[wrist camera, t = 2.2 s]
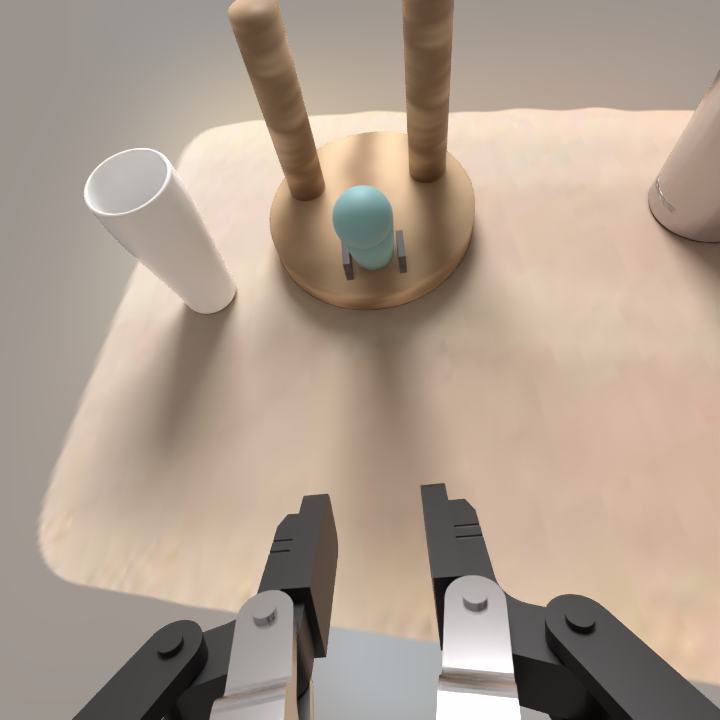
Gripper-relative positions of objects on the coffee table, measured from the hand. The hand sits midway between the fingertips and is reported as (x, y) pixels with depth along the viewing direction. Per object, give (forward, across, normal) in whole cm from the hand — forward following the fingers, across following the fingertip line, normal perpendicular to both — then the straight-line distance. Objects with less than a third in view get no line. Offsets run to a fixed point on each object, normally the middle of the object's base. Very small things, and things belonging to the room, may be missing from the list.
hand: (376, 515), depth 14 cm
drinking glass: (+34, +17, -2) cm, 38 cm away
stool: (+38, 0, -6) cm, 39 cm away
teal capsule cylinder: (+31, 0, -4) cm, 32 cm away
